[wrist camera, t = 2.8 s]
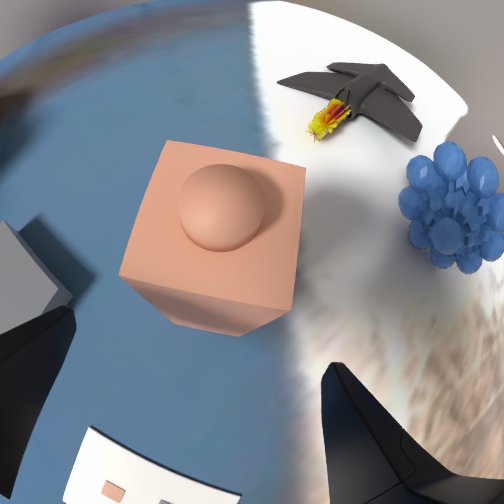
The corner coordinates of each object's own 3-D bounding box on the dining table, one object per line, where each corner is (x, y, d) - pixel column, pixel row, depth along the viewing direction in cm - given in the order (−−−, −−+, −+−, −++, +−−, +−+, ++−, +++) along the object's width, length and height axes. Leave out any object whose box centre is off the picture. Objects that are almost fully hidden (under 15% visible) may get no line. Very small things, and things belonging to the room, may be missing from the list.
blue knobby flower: (350, 227, 24) (437, 140, 12) (382, 185, 26) (454, 106, 15) (434, 314, 22) (540, 279, 11) (456, 264, 24) (542, 218, 13)
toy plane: (391, 194, 23) (411, 150, 19) (241, 122, 28) (238, 79, 24) (431, 104, 33) (441, 77, 28) (336, 63, 38) (340, 36, 34)
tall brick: (239, 336, 19) (300, 306, 6) (175, 323, 19) (109, 266, 6) (249, 275, 21) (313, 152, 8) (188, 262, 20) (164, 123, 8)
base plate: (75, 297, 19) (58, 288, 16) (23, 379, 15) (2, 381, 13) (20, 233, 19) (3, 219, 16) (-26, 307, 16) (-46, 301, 13)
